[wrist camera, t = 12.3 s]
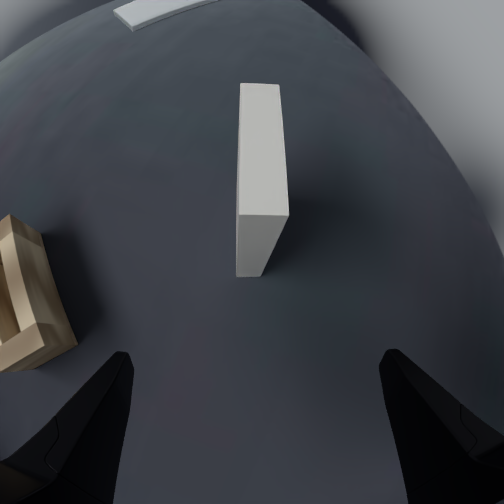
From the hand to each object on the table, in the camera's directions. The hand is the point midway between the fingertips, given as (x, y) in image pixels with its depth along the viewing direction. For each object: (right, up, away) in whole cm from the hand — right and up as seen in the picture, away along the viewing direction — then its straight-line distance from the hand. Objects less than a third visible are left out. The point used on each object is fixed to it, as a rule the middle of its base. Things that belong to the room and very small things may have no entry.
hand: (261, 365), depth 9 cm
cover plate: (-1, +5, +11) cm, 13 cm away
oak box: (-17, 0, +9) cm, 20 cm away
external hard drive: (-12, +37, +20) cm, 44 cm away
